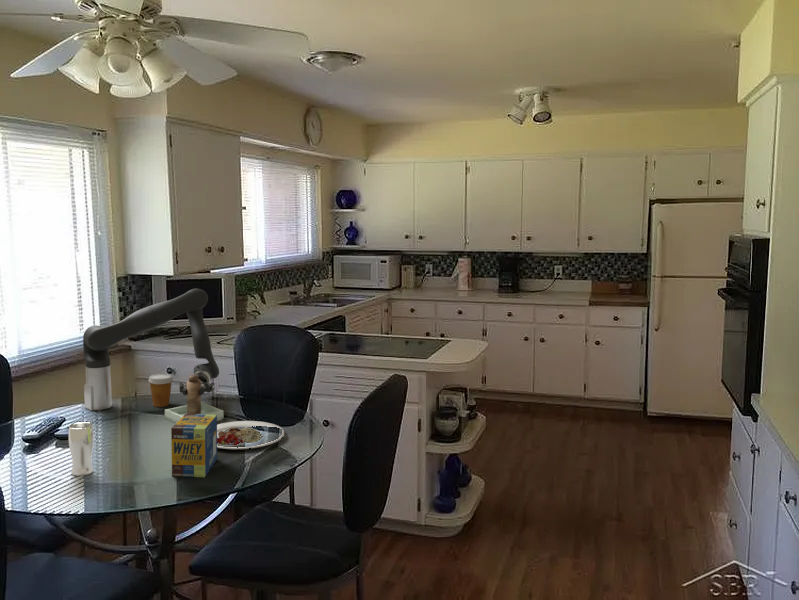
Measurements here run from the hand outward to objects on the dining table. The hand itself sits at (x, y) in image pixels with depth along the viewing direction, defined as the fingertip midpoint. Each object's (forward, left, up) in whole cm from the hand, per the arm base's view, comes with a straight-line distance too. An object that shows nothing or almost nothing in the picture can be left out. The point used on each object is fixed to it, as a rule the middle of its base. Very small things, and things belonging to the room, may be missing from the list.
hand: (192, 392), depth 262 cm
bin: (+2, +2, -11) cm, 11 cm away
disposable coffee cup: (+2, +28, -11) cm, 30 cm away
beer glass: (-51, -23, -11) cm, 57 cm away
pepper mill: (+2, +2, -9) cm, 9 cm away
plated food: (+3, -29, -12) cm, 31 cm away
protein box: (-24, -43, -11) cm, 51 cm away
